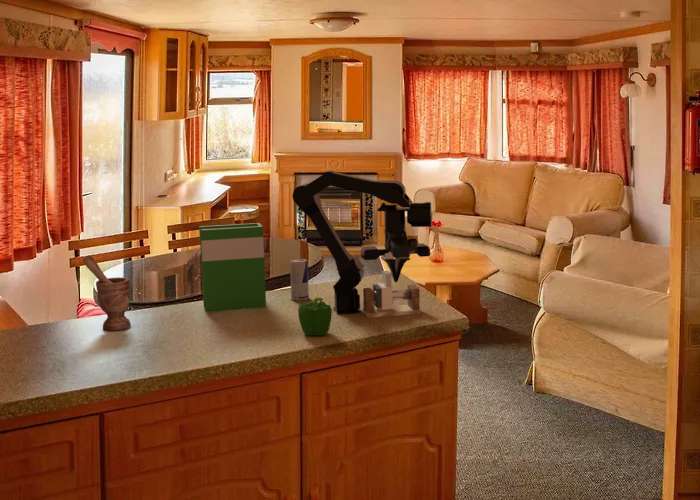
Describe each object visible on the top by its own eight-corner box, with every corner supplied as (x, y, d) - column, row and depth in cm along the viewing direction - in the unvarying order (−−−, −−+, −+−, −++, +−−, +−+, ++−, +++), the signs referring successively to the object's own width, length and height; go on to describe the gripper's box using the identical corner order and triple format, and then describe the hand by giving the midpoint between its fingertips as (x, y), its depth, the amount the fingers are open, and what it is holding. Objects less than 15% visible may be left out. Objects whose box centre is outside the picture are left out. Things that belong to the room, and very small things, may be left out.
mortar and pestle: (87, 334, 203) (80, 260, 200) (88, 325, 211) (82, 254, 208) (132, 330, 206) (127, 256, 203) (132, 321, 214) (127, 251, 211)
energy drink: (312, 297, 237) (311, 259, 235) (302, 301, 233) (300, 262, 230) (298, 295, 240) (296, 258, 238) (287, 299, 235) (286, 261, 233)
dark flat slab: (377, 308, 214) (377, 288, 213) (373, 303, 220) (372, 284, 219) (381, 308, 215) (381, 288, 214) (377, 303, 220) (377, 284, 219)
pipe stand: (368, 317, 214) (367, 293, 212) (362, 311, 220) (362, 287, 219) (420, 313, 216) (420, 289, 215) (413, 307, 223) (413, 284, 222)
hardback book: (205, 312, 223) (200, 230, 219) (203, 306, 230) (199, 226, 226) (266, 307, 227) (262, 226, 223) (262, 301, 234) (259, 223, 230)
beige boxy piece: (382, 309, 214) (381, 275, 213) (377, 304, 220) (376, 270, 219) (392, 308, 215) (392, 274, 213) (387, 303, 221) (386, 269, 219)
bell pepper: (294, 332, 201) (293, 294, 200) (323, 327, 205) (322, 291, 203) (306, 340, 194) (305, 301, 192) (336, 335, 197) (335, 297, 195)
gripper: (368, 233, 205) (369, 290, 207) (436, 229, 208) (436, 285, 211) (359, 227, 215) (361, 281, 218) (424, 223, 219) (424, 277, 222)
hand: (395, 281), depth 217 cm, fingers closed
